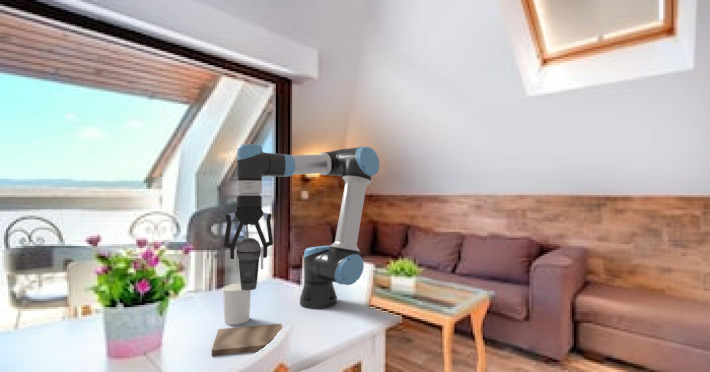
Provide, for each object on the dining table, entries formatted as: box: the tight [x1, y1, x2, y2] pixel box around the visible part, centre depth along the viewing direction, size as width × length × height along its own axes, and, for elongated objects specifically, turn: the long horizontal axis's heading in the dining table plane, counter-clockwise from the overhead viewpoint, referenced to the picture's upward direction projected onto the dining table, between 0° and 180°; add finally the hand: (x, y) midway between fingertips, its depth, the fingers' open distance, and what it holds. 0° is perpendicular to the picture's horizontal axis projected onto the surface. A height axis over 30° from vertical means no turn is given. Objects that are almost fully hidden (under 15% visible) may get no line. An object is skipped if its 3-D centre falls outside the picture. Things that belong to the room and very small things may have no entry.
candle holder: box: [221, 282, 252, 326], centre depth 131 cm, size 10×10×12 cm
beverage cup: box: [237, 224, 262, 291], centre depth 114 cm, size 7×7×20 cm
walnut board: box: [211, 323, 283, 356], centre depth 114 cm, size 20×16×2 cm
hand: (248, 268), depth 114 cm, fingers closed on beverage cup, 7 cm apart
